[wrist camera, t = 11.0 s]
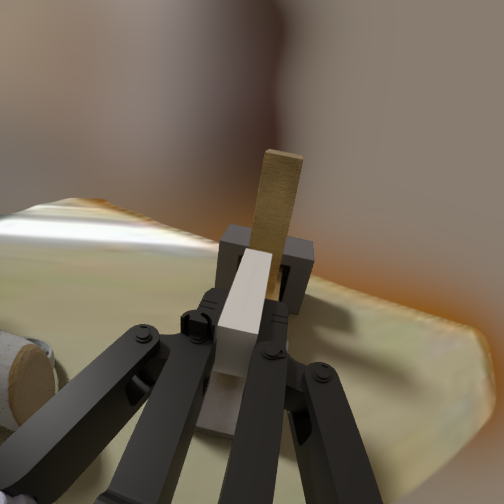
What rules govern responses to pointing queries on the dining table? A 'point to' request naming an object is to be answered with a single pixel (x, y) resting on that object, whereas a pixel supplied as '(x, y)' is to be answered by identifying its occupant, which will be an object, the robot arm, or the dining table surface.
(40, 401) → the ceramic mug
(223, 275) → the slotted grey block
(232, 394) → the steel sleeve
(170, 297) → the dining table surface
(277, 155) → the t-shaped wooden piece
